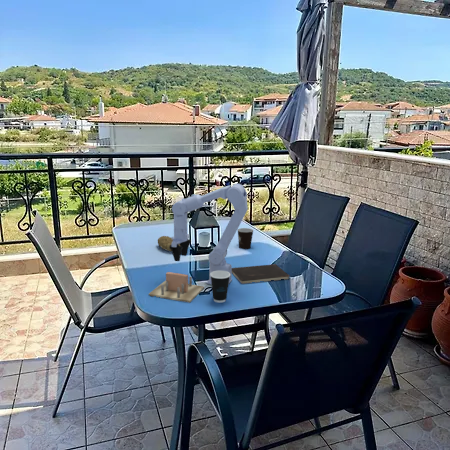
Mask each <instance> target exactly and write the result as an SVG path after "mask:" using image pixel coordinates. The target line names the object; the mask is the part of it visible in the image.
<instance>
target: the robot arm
mask: <svg viewBox="0 0 450 450" xmlns="http://www.w3.org/2000/svg"><path fill="white" fill-rule="evenodd" d="M220 198H221V199H223V200H228V202H229V203H230V204H231V205H232V207H233V209H234V211H233V213H232V215H231V217H230V219H229V222H228V223H227V225H226V227H225V229H224V231H223V232H222V235H221V237H220V238H219V241H218V242H217V244H216V246H214V247H213V250H212V251H211V252H209V254H208V262H209V267H208V268H209V271H208V272H209V273H208V275H209V276H208V278H209V279H208V280H207V281H206V282H205V284H207V285H212V283H211V276H210V273H211V272H213V271H227V272H229V273H230V277H229V284H231V282H232V280H233V279H232V274H233V273H232V268H233V267H232V264H229V263H227V260H226V257H227V256H228V249H229V247H230V245H231V242H232V240H233V239H234V237H235V234H236V232H238V229H239V227H240V225H241V223H242V221H243V219H244V218H245V216H246V214H247V212H248V210H249V209H248V200H247V199H248V193H247V191H246V188H245V186H243V184H241V183H234V184H231V185H230V184H229V185H227V186H222V187H220V188H218V189H214V190H212V191H211V192H208V193H206V194H203V195H201V194H199V193H198V194H195V193H194V194H191V196H189V197H186V198H181V200H178V201H177V202H175V203H173V204H172V207H171V211H172V213H173V236H171V237H172V239H173V242H172V244H171V245H170V249H171V251H172V252H171V251H170V252H171V253H172V256H173V259H174V261H175V262H180V261H181V256H182V257H186V256H187V254H188V251H189V248H190V244H191V242H192V239H190V234H188V213H190V212H192V211H195V210H197V209H201V208H203V207H204V205H205V203H208V202H212V201H213V200H216V199H220ZM179 244H180V246H179Z"/></svg>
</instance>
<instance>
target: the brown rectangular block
mask: <svg viewBox="0 0 450 450" xmlns="http://www.w3.org/2000/svg"><path fill="white" fill-rule="evenodd" d="M165 280H166V281H168V290H173V291H177V287H180V292H182V284H184V292H187V291H188V284H189V275H188V274H184V273H177V272H171V271H167V272H166V273H165Z"/></svg>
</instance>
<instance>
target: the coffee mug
mask: <svg viewBox="0 0 450 450" xmlns="http://www.w3.org/2000/svg"><path fill="white" fill-rule="evenodd" d="M253 235H254V230H253V229H252V228H250V227H249V228H247V227H241V228H238V229H237V237H238V248H239V249H242V250H249V249H251V247H252V240H253Z"/></svg>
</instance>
